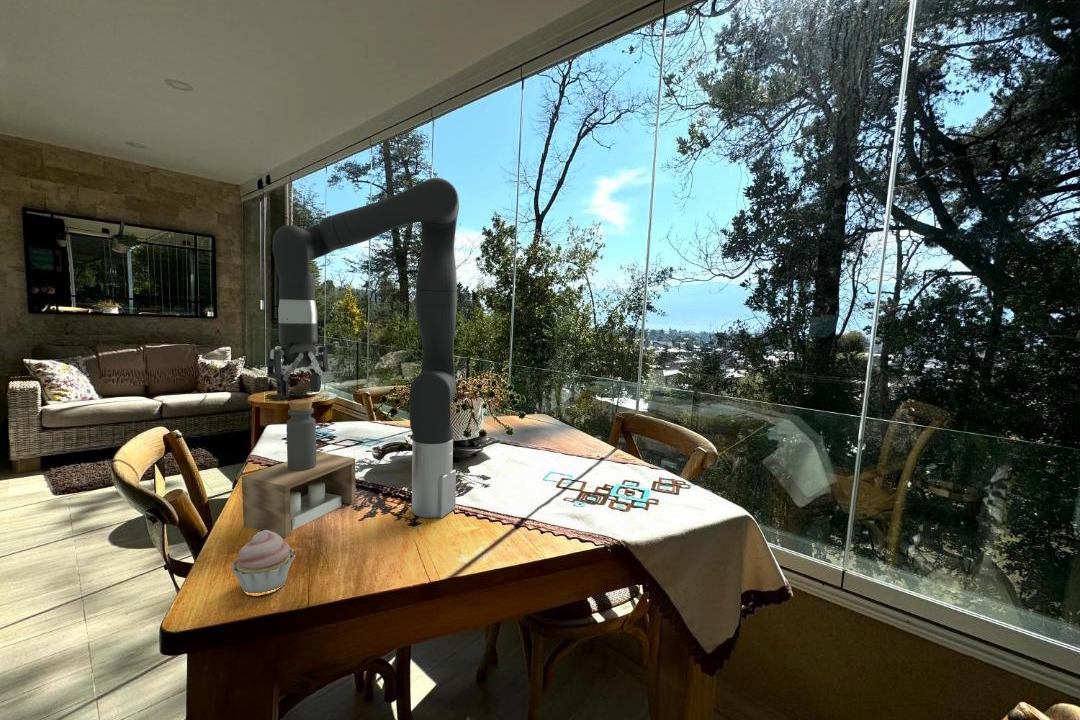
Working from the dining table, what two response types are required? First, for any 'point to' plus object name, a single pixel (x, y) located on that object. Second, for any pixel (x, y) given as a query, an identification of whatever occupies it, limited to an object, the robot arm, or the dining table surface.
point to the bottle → (301, 436)
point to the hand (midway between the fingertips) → (300, 394)
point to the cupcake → (263, 563)
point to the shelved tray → (316, 510)
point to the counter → (292, 490)
